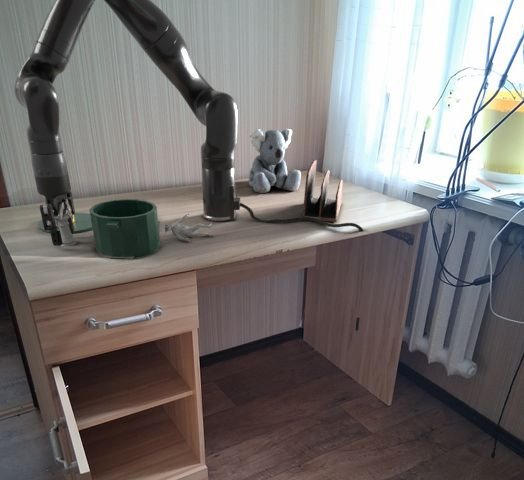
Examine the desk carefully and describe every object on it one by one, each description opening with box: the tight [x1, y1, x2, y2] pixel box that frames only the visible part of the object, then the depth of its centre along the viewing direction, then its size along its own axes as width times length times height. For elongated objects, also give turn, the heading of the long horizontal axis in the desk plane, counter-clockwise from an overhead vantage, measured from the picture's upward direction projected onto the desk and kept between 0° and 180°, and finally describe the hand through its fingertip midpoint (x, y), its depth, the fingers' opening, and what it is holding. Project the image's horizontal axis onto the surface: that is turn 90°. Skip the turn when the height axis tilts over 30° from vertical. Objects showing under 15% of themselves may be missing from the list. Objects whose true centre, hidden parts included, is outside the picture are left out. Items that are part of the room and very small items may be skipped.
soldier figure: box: [164, 213, 213, 242], centre depth 134 cm, size 8×5×12 cm
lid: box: [38, 207, 93, 234], centre depth 140 cm, size 17×17×6 cm
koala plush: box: [248, 127, 302, 194], centre depth 175 cm, size 17×18×20 cm
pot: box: [88, 198, 161, 260], centre depth 125 cm, size 16×21×10 cm
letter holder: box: [302, 159, 344, 223], centre depth 153 cm, size 10×20×14 cm, turn 168°
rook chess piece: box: [60, 213, 77, 247], centre depth 127 cm, size 4×4×8 cm
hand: (64, 239), depth 128 cm, fingers open, 7 cm apart
